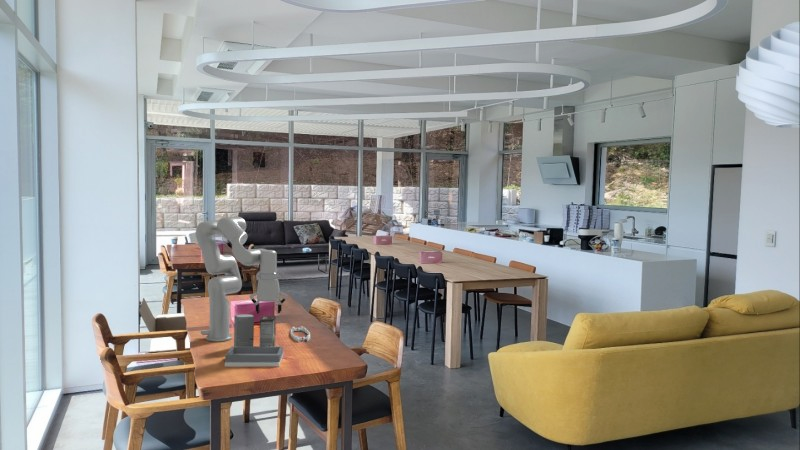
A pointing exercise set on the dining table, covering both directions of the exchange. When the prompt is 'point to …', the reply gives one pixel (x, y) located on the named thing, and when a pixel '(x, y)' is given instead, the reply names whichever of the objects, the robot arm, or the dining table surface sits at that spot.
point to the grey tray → (254, 356)
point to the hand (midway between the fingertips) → (268, 312)
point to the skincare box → (244, 330)
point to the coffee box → (267, 330)
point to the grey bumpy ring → (300, 337)
